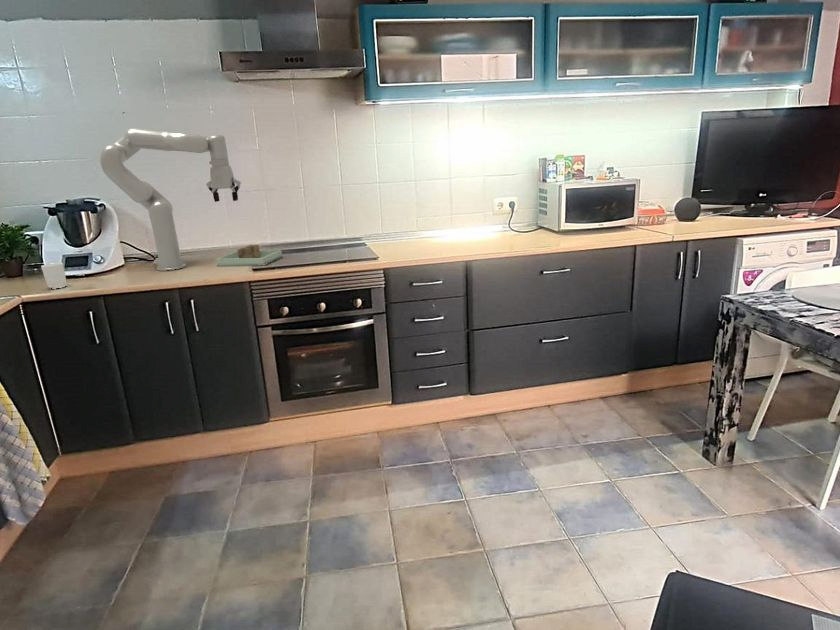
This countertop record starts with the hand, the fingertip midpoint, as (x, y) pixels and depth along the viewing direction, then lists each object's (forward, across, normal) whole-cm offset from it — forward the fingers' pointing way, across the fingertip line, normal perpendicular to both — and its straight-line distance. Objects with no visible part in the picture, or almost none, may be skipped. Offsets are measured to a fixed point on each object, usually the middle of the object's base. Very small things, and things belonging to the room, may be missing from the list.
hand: (226, 201), depth 267 cm
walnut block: (+27, +10, -7) cm, 30 cm away
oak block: (+27, +10, 0) cm, 29 cm away
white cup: (+28, -54, -51) cm, 80 cm away
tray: (+28, +10, -4) cm, 30 cm away
